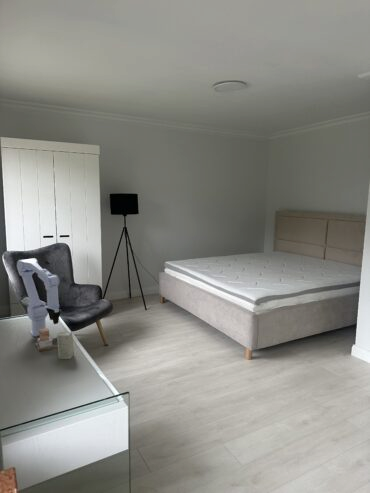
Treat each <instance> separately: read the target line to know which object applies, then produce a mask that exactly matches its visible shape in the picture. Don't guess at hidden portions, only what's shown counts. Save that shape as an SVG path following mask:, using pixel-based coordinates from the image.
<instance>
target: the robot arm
mask: <svg viewBox="0 0 370 493" xmlns="http://www.w3.org/2000/svg"><path fill="white" fill-rule="evenodd" d="M16 269H17V272H18V274H19V276H21V278H22V281H23V285H24V288H25V290H26V293H27V296H28V300H29V303H30V304H29V305H28V306H27V309H26V311H27V317H28V319H30V320H31V330H30V331H29V332H30V333H31V335H32V337H38V336H39V337H40V335H39V330H40V329H45V328H47V326H46V324H47V323H46V321H47V320H46V318H47V316H48V317H49V320H50V321H52V323H53V325H57V324H59V321H60V316H61V314H62V310H60V304H59V302H60V301H59V285H60V282H61V281H60V276H58V274H53V273H52V272H50V271H49V270H48V269H47V268H42V266H40V264H39V262H38V259H37V258H35V257H33V258H28V259H27V258H26V259H18V261H17V262H16ZM34 273H36V275H37V277H38V278H39V279H40V280H41V281H42V282H43V285H44V286H45V290H46V302H43V301H42V300H40V297H39V294H38V290H37V288H36V284H35V282H34V278H33V274H34ZM46 304H47V305H46Z"/></svg>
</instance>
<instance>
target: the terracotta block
mask: <svg viewBox="0 0 370 493" xmlns="http://www.w3.org/2000/svg"><path fill="white" fill-rule="evenodd" d="M49 336H50V330H49V329H48V327H46V328H45V329H40V330H39V338H40V340H41V341H45V340H50V339H49Z"/></svg>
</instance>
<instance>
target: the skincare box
mask: <svg viewBox="0 0 370 493" xmlns="http://www.w3.org/2000/svg"><path fill="white" fill-rule="evenodd" d="M56 338H57V342H58V347H57V353H58V359H63V360H65V359H66V360H68V359H69V360H71V359H72V358H73V356H74V355H75V352H74V351H75V350H74V338H73V332H72V331H60V332H59V333H58V334H56Z"/></svg>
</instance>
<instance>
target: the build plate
mask: <svg viewBox="0 0 370 493" xmlns="http://www.w3.org/2000/svg"><path fill="white" fill-rule="evenodd" d="M49 339H50V340H45V341H41V340H40V337H39V338H37V342H35V343H34V345H35V347H36V349H37V351H38V352H43V351H47V350H52V349H56V348H57V349H58V342H57V337H51V336H50V335H49Z"/></svg>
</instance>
